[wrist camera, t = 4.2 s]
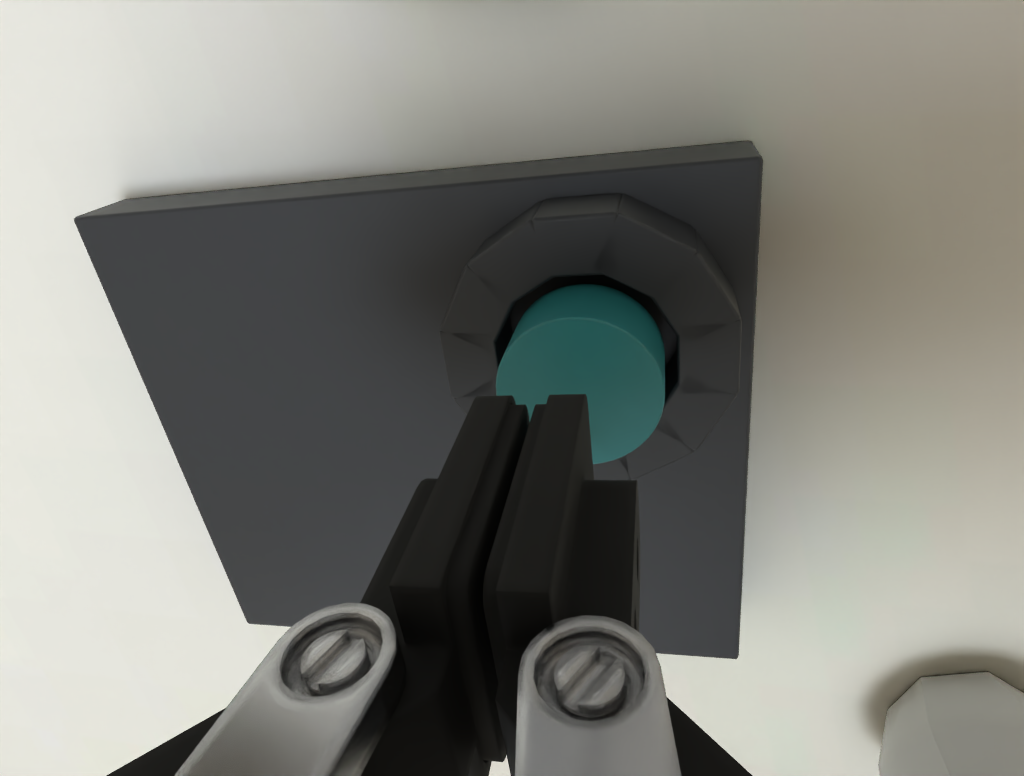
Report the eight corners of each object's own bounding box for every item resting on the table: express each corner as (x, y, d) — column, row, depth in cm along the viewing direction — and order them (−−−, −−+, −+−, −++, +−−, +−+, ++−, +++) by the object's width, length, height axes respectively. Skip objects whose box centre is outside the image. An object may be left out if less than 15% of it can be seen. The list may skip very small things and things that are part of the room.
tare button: (663, 278, 13) (663, 313, 12) (666, 419, 15) (666, 466, 13) (503, 287, 14) (484, 320, 12) (521, 420, 15) (506, 464, 14)
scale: (752, 139, 14) (775, 173, 11) (733, 610, 21) (744, 710, 18) (124, 198, 18) (17, 237, 15) (274, 583, 25) (220, 663, 22)
